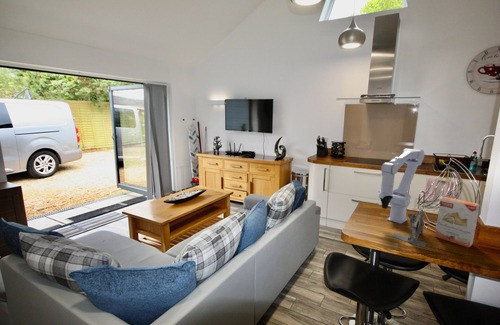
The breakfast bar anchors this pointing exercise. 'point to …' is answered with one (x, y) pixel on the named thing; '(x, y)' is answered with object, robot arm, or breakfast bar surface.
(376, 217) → the breakfast bar surface
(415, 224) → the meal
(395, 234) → the gray flat rectangular plate
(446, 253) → the breakfast bar surface
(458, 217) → the cracker box
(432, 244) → the breakfast bar surface
